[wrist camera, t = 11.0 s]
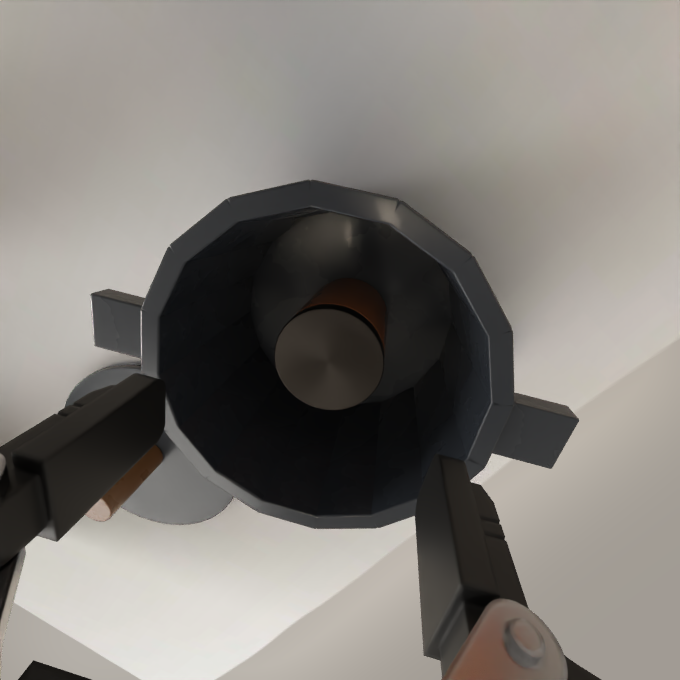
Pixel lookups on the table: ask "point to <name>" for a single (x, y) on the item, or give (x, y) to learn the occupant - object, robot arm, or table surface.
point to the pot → (288, 411)
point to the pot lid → (154, 474)
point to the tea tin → (334, 346)
